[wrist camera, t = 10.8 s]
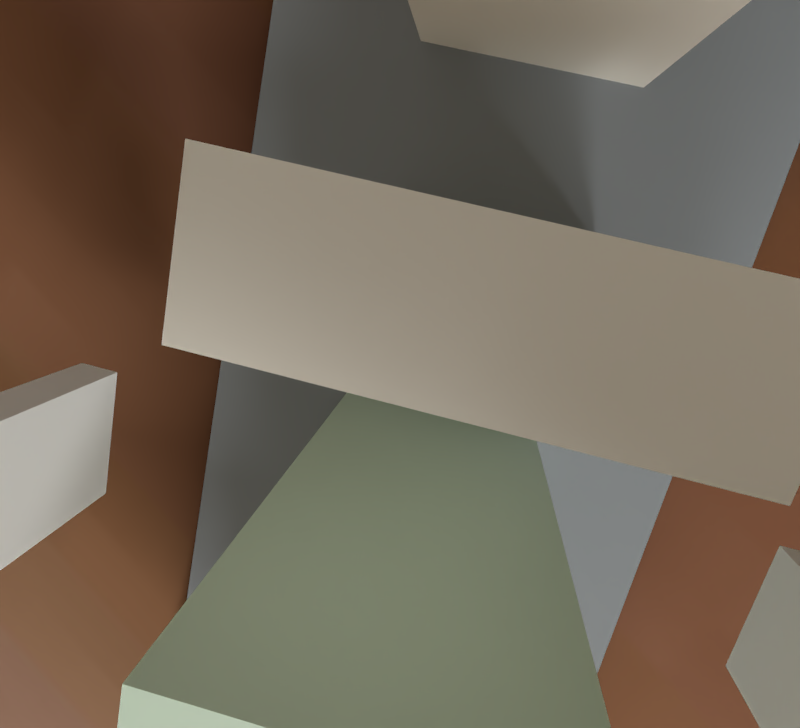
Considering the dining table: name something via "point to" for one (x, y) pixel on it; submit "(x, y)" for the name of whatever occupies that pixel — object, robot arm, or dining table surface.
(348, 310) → the domino
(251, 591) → the sage domino
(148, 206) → the dining table surface
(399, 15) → the slate mat
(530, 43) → the domino
